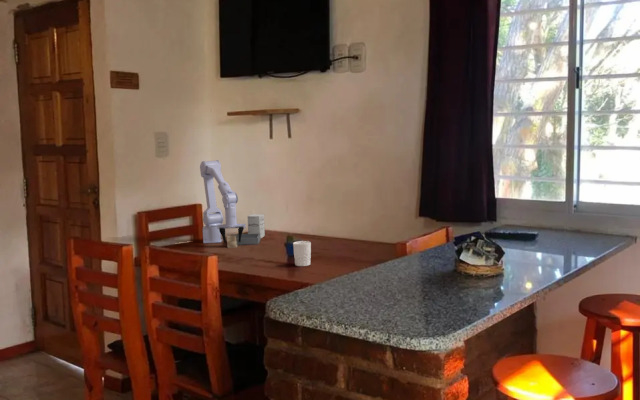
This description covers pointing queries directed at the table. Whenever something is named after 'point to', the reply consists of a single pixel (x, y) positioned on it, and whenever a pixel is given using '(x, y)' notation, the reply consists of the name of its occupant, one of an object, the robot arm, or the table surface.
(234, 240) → the birch block
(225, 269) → the table surface
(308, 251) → the white cup
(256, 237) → the serving tray
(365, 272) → the table surface
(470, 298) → the table surface
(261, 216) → the supplement box
